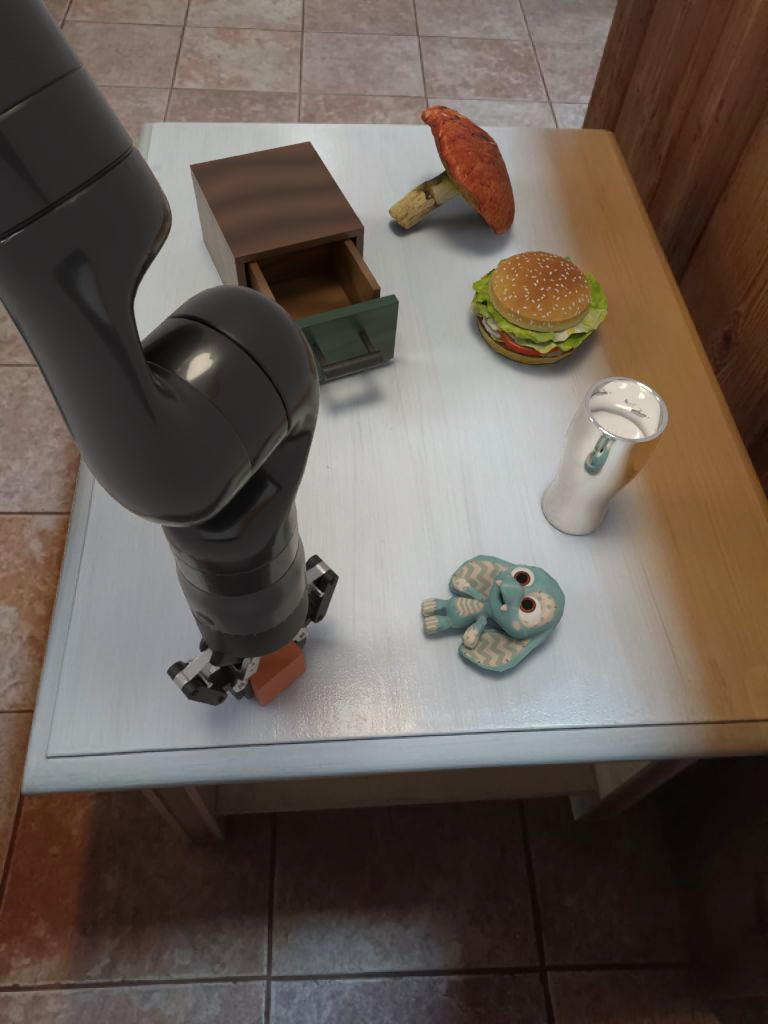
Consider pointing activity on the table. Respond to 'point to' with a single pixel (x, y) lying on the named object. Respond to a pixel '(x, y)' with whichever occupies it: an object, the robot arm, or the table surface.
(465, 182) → the mushroom
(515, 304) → the food
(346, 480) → the table surface
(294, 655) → the block
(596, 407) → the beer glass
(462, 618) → the stuffed animal
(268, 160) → the cabinet
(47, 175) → the robot arm
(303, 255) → the drawer
